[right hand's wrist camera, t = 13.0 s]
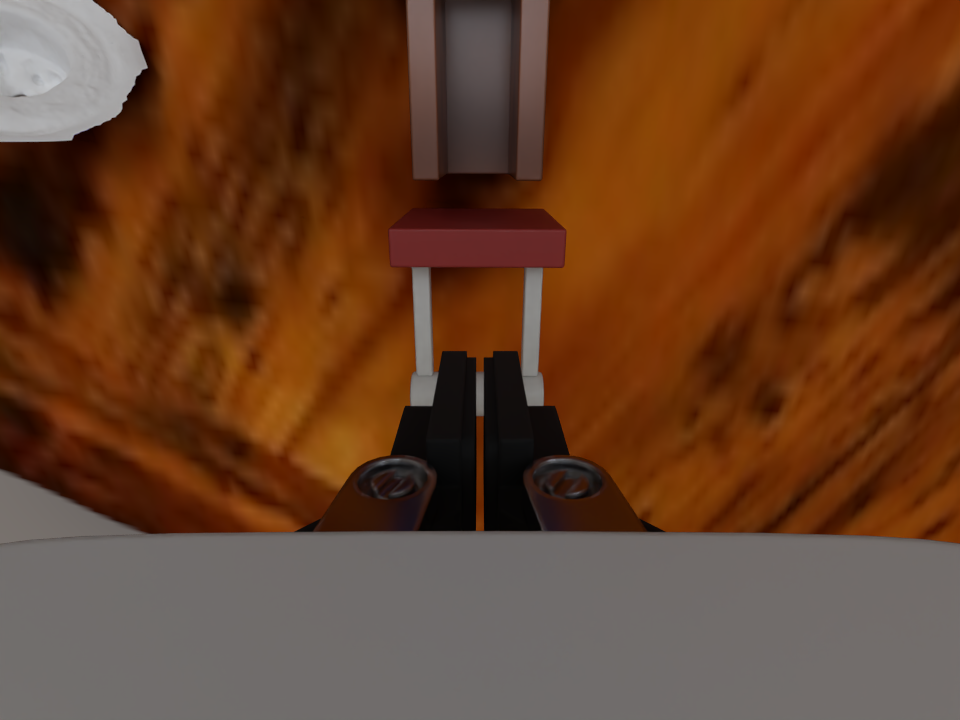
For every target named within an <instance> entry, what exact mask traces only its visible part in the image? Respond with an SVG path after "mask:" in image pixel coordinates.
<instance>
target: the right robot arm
mask: <svg viewBox="0 0 960 720" xmlns="http://www.w3.org/2000/svg"><path fill="white" fill-rule="evenodd" d="M0 720H960V544H958V543H950V542H942V541H933V540H925V539H911V538H895V537H878V536H856V535H819V534H781V533H701V532H665V531H663V530H661V529H659V528H657V527H655V526H653V525H651V524H649V523H647V522H645V521H643V520H641V519H639V518H638V517H637V515H636V514H635V512H634V511H633V509H632V508H631V506H630V505H629V503H628V502H627V500H626V499H625V497H624V496H623V494H622V493H621V491H620V490H619V488H618V487H617V485H616V484H615V482H614V481H613V479H612V478H611V476H610V475H609V474H608V473H607V472H606V470H605V469H604V468H603V467H601V466H599V465H598V464H596V463H594V462H593V461H590V460H587V459H584V458H581V457H576V456H570V455H569V451H568V448H567V445H566V441H565V438H564V434H563V431H562V428H561V424H560V421H559V417H558V414H557V411H556V408H555V406H528V404H527V399H526V394H525V388H524V383H523V378H522V372H521V367H520V362H519V356H518V352H517V351H493V358H484V531H476V358H467V351H443V352H442V356H441V362H440V367H439V372H438V378H437V383H436V388H435V394H434V399H433V404H432V406H405V408H404V411H403V414H402V417H401V421H400V424H399V428H398V431H397V434H396V438H395V441H394V445H393V448H392V451H391V455H390V456H384V457H379V458H376V459H373V460H370V461H367V462H366V463H364V464H362V465H361V466H359V467H357V468H356V469H355V470H354V472H353V473H352V474H351V475H350V476H349V478H348V479H347V481H346V482H345V484H344V485H343V487H342V488H341V490H340V491H339V493H338V494H337V496H336V497H335V499H334V500H333V502H332V503H331V505H330V506H329V508H328V509H327V511H326V512H325V514H324V515H323V517H322V518H321V519H319V520H317V521H315V522H313V523H311V524H309V525H307V526H305V527H303V528H301V529H299V530H297V531H295V532H262V533H172V534H140V535H107V536H79V537H65V538H51V539H37V540H26V541H18V542H11V543H3V544H0Z"/></svg>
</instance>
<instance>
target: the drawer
mask: <svg viewBox="0 0 960 720" xmlns="http://www.w3.org/2000/svg"><path fill="white" fill-rule="evenodd" d="M549 13H550V0H406V22H407V47H408V72H409V98H410V123H411V148H412V173H413V180H439V179H440V178H442V177H443V176H445V175H446V174H509V175H511V176H512V177H513V178H514V179H516V180H517V181H541V180H542V172H543V149H544V126H545V104H546V81H547V58H548V36H549ZM388 236H389V253H390V265H391V267H412V281H413V304H414V327H415V351H416V372H413V374H412V378H411V387H410V403H411V406H432V404H433V399H434V394H435V388H436V383H437V378H438V372H433V370H434V364H433V330H432V297H431V267H492V268H524V292H523V321H522V350H521V372H522V378H523V383H524V388H525V394H526V399H527V404H528V406H544V384H543V376H542V373H540V372H538V361H539V340H540V319H541V298H542V277H543V268H562V267H564V262H565V246H566V229H565V228H563V227H562V226H561V225H560V224H559V223H558V222H557V221H556V220H555V219H554V218H553V217H552V216H550V215H549V214H548V213H547V212H546V211H545V210H544V209H450V208H413V209H411V210H410V211H409V212H408V213H407V214H406V215H404V216H403V217H402V218H401V219H400V220H399V221H397V222H396V223H395V224H394V225H393V226H392V227H390V228H389V230H388ZM476 416H484V372H476Z"/></svg>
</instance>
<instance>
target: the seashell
mask: <svg viewBox="0 0 960 720" xmlns="http://www.w3.org/2000/svg"><path fill="white" fill-rule="evenodd" d="M146 68H148V67H147V64H146V62H145V59H144V56H143V54H142V51H141V48H140V44H139V41H138V40H136V39H134V38H133V37H132V36H130V35H129V34H127V33H126V31H125V30H124V29H123V28H122V27H120V26H119V25H118V24H117V20H116V18H115V19H114V18H113V16H112V15H111V14H110V13H107V12H106V11H105V10H104V9H103V8H101V7H100V6H99V5H98V4H96V3H95V2H94V1H93V0H0V142H46V141H69V140H72V139H73V136H74V135H75V134H78V133H80V132H82V131H85V130H88V129H89V128H92V127H94V126H97V125H101V124H102V123H103V122H105V121H109V120H111V118H114V117H116V115H118V114H119V113H120V112H121V110H122V103H123V102H125V101H126V100H127V95H128V93H130V91H131V90H132V87H133V86H134V85H135V79H136V76H138V75H140V73H141V71H142V70H143V69H146Z"/></svg>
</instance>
